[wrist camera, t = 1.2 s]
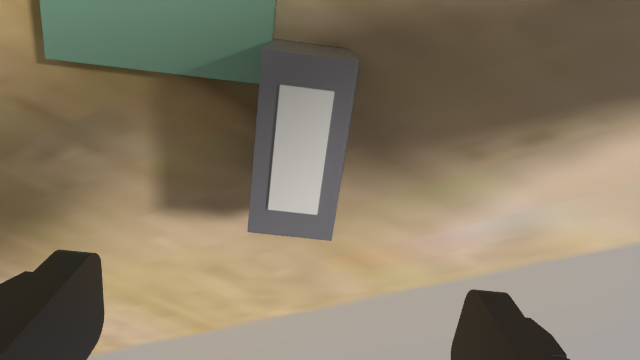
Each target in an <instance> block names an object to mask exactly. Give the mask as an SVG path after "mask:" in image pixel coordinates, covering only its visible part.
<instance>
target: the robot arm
mask: <svg viewBox="0 0 640 360" xmlns="http://www.w3.org/2000/svg"><path fill="white" fill-rule="evenodd" d="M103 322H104V301H103V285H102V269H101V260H100V257H99V255H98V254H97V253H88V252H78V251H67V250H57V251H55V252H54V253H53V254H51V255H50V256H49V257H48V258H47V259H46V260H45V261H44V262H43V263H42V264H41V265H40V266H39V267H38V268H37V269H36V270H35V271H34V272H27V271H25V272H23V273H21V274H19V275H17V276H15V277H13V278H11V279H9V280H7V281H5V282H3V283H1V284H0V360H86V359H87V358H88V357H89V355H90V353H91V352H92V350H93V349H94V347H95V345H96V344H97V342H98V340H99V337H100V334H101V331H102V328H103ZM451 360H570V359H567V358H566V354H565V352H564V351H563V350H562V348H561V347H560V345H559V344H558V343H557V341H556V340H555V339H554V338H553V336H552V335H551V334H550V333H548V332H547V331H546V330H545V329H543V328H542V327H541V326H540V325H538V324H537V323H536V322H535V321H534V320H532V319H531V318H525V317H524V315H523V314H522V313H521V311H520V310H519V308H518V307H517V305H516V304H515V303H514V301H513V300H512V298H511V297H510V296H509V295H508V294H507V293H504V292H493V291H483V290H470V291H469V292H468V294H467V296H466V298H465V301H464V305H463V308H462V312H461V315H460V319H459V322H458V326H457V329H456V332H455V336H454V340H453V343H452V348H451Z"/></svg>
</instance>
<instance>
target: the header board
mask: <svg viewBox="0 0 640 360" xmlns="http://www.w3.org/2000/svg"><path fill="white" fill-rule="evenodd" d="M39 1H40V11H41V22H42V32H43V42H44V52H45V59H52V60H61V61H69V62H77V63H86V64H94V65H103V66H111V67H119V68H128V69H136V70H145V71H153V72H161V73H170V74H178V75H187V76H195V77H203V78H212V79H220V80H229V81H237V82H245V83H254V84H259V82H260V69H261V57H262V48H263V47H265V46H266V45H267V44H268V43H270V42H271V41H272V40H273V38H274V26H275V13H276V1H277V0H39Z"/></svg>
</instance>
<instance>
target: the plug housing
mask: <svg viewBox="0 0 640 360" xmlns="http://www.w3.org/2000/svg"><path fill="white" fill-rule="evenodd" d="M359 63H360V61H359V60H358V59H357V58H356V57H355V56H354V55H353V54H352V53H351V52H350V51H349V50H348V49H345V48H337V47H330V46H322V45H315V44H308V43H300V42H293V41H285V40H278V39H273V40H272V41H271V42H270V43H268V44H267V45H266V46H265V47H263V48H262V57H261V69H260V82H259V94H258V107H257V119H256V132H255V144H254V157H253V169H252V182H251V194H250V207H249V219H248V232H253V233H262V234H272V235H281V236H291V237H300V238H310V239H319V240H329V241H331V240H332V234H333V228H334V221H335V215H336V209H337V202H338V196H339V190H340V183H341V177H342V171H343V164H344V158H345V152H346V145H347V139H348V133H349V127H350V120H351V114H352V108H353V101H354V95H355V89H356V82H357V76H358V70H359Z"/></svg>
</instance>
